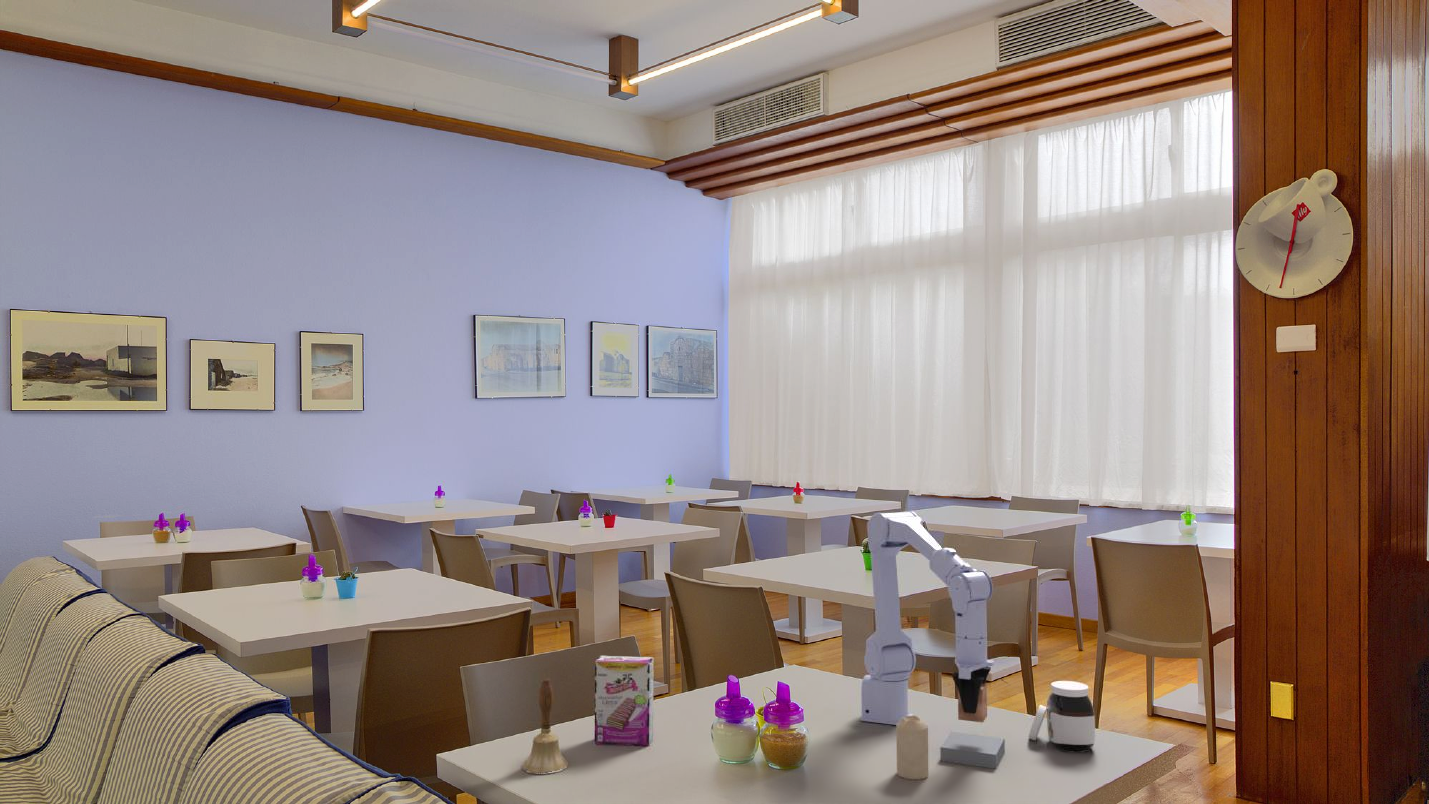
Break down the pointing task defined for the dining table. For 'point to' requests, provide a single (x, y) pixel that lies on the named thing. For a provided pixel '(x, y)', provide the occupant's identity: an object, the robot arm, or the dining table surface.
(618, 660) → the candy bar box
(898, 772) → the candle
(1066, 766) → the dining table surface
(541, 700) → the hand bell
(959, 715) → the block
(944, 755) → the base
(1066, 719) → the spread jar
